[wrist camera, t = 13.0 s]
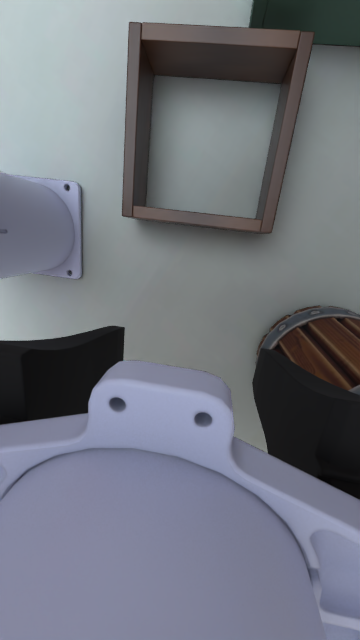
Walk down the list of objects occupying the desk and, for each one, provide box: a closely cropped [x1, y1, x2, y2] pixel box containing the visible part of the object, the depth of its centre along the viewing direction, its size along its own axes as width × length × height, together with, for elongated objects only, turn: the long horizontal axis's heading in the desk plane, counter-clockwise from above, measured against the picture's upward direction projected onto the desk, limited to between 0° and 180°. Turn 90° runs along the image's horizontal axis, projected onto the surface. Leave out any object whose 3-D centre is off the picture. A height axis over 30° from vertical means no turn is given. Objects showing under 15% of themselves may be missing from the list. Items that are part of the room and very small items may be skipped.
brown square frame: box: [122, 22, 315, 234], centre depth 18 cm, size 11×11×4 cm
